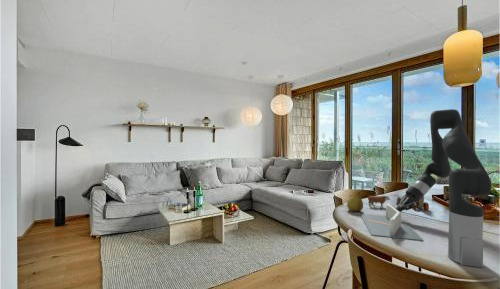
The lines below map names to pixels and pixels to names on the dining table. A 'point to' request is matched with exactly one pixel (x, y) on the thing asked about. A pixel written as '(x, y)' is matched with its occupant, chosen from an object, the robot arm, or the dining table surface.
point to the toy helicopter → (422, 204)
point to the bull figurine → (378, 200)
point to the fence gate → (390, 211)
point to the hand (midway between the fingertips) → (395, 213)
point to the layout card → (388, 228)
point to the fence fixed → (395, 223)
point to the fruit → (355, 203)
